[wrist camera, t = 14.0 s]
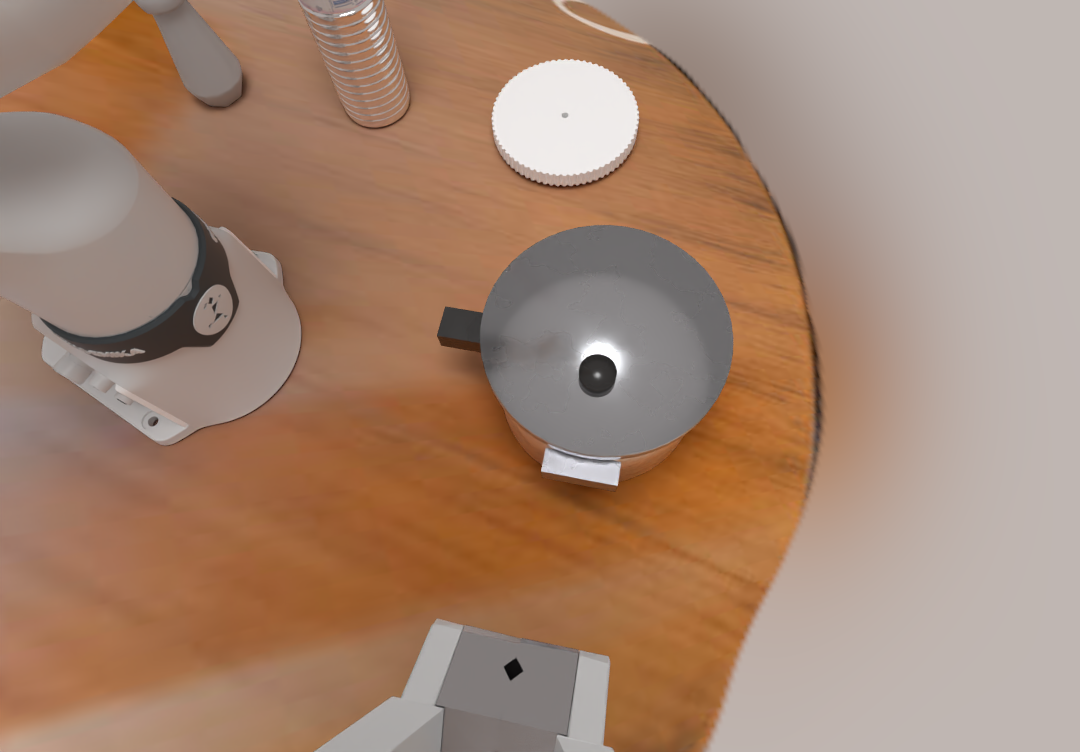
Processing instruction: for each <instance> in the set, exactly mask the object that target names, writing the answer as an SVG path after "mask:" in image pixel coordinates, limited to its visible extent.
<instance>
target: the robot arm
mask: <svg viewBox="0 0 1080 752" xmlns="http://www.w3.org/2000/svg"><path fill="white" fill-rule="evenodd" d="M132 1H133V0H0V98H1V97H3V96H5V95H7V94H9V93H11V92H12V91H14V90H16V89H18V88H20V87H22V86H24V85H25V84H27V83H29V82H31V81H33V80H35V79H36V78H38V77H40V76H42V75H44V74H46V73H47V72H49V71H51V70H53V69H55V68H57V67H58V66H60V65H62V64H64V63H66V62H67V61H68V60H69V59H71V58H72V57H73V56H74V55H75V54H76V53H77V52H79V51H80V50H81V49H82V48H83V47H84V46H85V45H87V44H88V43H89V42H90V41H91V40H92V39H93V38H94V37H96V36H97V35H98V34H99V33H100V32H101V31H102V30H103V29H104V28H105V27H106V26H108V25H109V24H110V23H111V22H112V21H113V20H114V19H115V18H116V17H117V16H118V15H119V14H120V13H121V12H122V11H123V10H124V9H125V8H126V7H127V6H128V5H129V4H130V3H131V2H132ZM0 296H1V297H3V298H5V299H7V300H9V301H11V302H13V303H15V304H17V305H18V306H20V307H22V308H24V309H26V310H28V311H30V312H32V315H31V318H32V324H33V327H34V328H35V329H36V330H38V331H39V332H40V333H42V334H43V335H45V336H44V339H43V345H42V359H43V360H44V361H45V362H46V363H47V364H48V365H49V366H51V367H52V368H53V370H55V371H56V372H58V373H59V374H61V375H62V376H64V377H66V378H67V379H69V380H70V381H72V382H73V383H74V384H76V385H77V386H79V387H80V388H81V389H83V390H84V391H85V392H87V393H88V394H90V395H91V396H92V397H94V398H95V399H97V400H98V401H99V402H101V403H102V404H103V405H105V406H106V407H108V408H109V409H110V410H112V411H113V412H115V413H116V414H117V415H119V416H120V417H121V418H123V419H124V420H126V421H127V422H128V423H130V424H131V425H133V426H134V427H135V428H137V429H138V430H139V431H141V432H142V433H144V434H145V435H146V436H148V437H149V438H151V439H152V440H153V441H155V442H156V443H158V444H160V445H171V444H174V443H176V442H178V441H180V440H182V439H183V438H185V437H187V436H188V435H190V434H191V433H193V432H194V431H196V430H198V429H200V428H203V427H206V426H210V425H215V424H220V423H224V422H228V421H231V420H234V419H237V418H239V417H242V416H244V415H246V414H248V413H250V412H251V411H253V410H255V409H256V408H258V407H259V406H261V405H262V404H263V403H265V402H266V401H267V400H268V399H269V398H271V397H272V396H273V395H274V394H275V393H276V392H277V390H278V389H279V388H280V387H281V386H282V385H283V383H284V382H285V380H286V379H287V378H288V376H289V374H290V373H291V371H292V369H293V367H294V364H295V362H296V359H297V357H298V353H299V349H300V343H301V325H300V319H299V316H298V313H297V310H296V308H295V306H294V304H293V302H292V301H291V299H290V297H289V296H288V294H287V293H286V291H285V289H284V286H283V274H282V267H281V264H280V262H279V261H278V259H276V258H275V257H274V256H273V255H272V254H270V253H267V252H260V251H253V250H250V249H249V248H247V247H246V246H245V245H244V244H243V243H242V242H241V241H240V240H239V239H238V238H237V237H236V236H235V235H234V234H233V233H232V232H231V231H230V230H228V229H227V228H224V227H220V228H216V227H211V226H208V225H207V224H206V223H205V222H204V221H203V220H202V219H201V218H200V217H199V216H198V215H196V214H195V213H194V212H192V210H190V209H189V208H188V207H187V206H186V205H184V204H183V203H181V202H180V201H178V200H176V199H174V198H172V197H170V196H169V195H168V194H167V193H166V191H165V190H164V189H163V188H162V187H161V186H160V185H159V184H158V183H157V182H156V180H155V179H154V178H153V177H152V176H151V175H150V174H149V173H148V172H147V171H146V170H145V168H144V167H143V166H142V165H141V164H140V163H139V162H138V161H137V160H136V159H135V158H134V157H133V155H132V154H131V153H130V152H129V151H128V150H127V149H126V148H125V147H124V146H123V145H122V144H121V143H120V142H119V141H117V140H116V139H114V138H113V137H111V136H110V135H108V134H106V133H104V132H103V131H101V130H99V129H97V128H94V127H92V126H90V125H88V124H85V123H82V122H79V121H77V120H74V119H71V118H68V117H64V116H60V115H57V114H51V113H44V112H1V113H0ZM157 419H158V423H157V425H155V426H153V423H154V421H155V420H157ZM609 670H610V660H609V656H604V655H600V654H595V653H590V652H585V651H581V650H580V651H579V650H577V649H572V648H567V647H562V646H558V645H553V644H548V643H543V642H538V641H533V640H529V639H524V638H522V639H520V638H516V637H512V636H508V635H504V634H500V633H496V632H492V631H488V630H484V629H480V628H476V627H472V626H468V625H462V624H458V623H454V622H449V621H445V620H441V619H436V620H435V622H434V623H433V624H432V626H431V628H430V630H429V633H428V635H427V637H426V640H425V642H424V644H423V647H422V649H421V651H420V654H419V656H418V658H417V661H416V663H415V666H414V668H413V670H412V673H411V675H410V677H409V680H408V682H407V684H406V687H405V689H404V691H403V694H402V696H401V698H398V697H393V696H392V697H390V698H389V699H387V700H386V701H385V702H383V703H382V704H380V705H379V706H378V707H376V708H375V709H373V710H372V711H370V712H369V713H368V714H366V715H365V716H363V717H362V718H361V719H359V720H358V721H356V722H355V723H354V724H352V725H351V726H349V727H348V728H346V729H345V730H344V731H342V732H341V733H339V734H338V735H337V736H335V737H334V738H332V739H331V740H329V741H328V742H327V743H325V744H324V745H322V746H321V747H320V748H318V749H317V750H315V751H314V752H614V750H613V748H611V747H608V746H604V745H603V742H604V730H605V718H606V706H607V694H608V682H609Z"/></svg>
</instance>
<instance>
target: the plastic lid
mask: <svg viewBox="0 0 1080 752" xmlns="http://www.w3.org/2000/svg"><path fill="white" fill-rule="evenodd" d="M629 90H630V88H629V87H627V86H626V83H625V82H624V83H623V82H622V79H621V78H620V79H619V78H618V76H617V75H614V74H613V72H609V71H608V69H604V68H603V67H602V66H600V67H599V66H598V65H597V64H592V63H591V62H589V63H586V61H582V62H581V61H580V60H576V61H574V60H573V59H570V60H567V59H564V60H561V59H559V60H558V61H555V60H552V61H551V62H548V61H546V62H545V63H539V65H534V67H529V68H528V69H527V70H523V72H522V73H518V75H517V76H514V77H513V79H512V80H509V83H508V84H505V88H502V89H501V91H502V92H499V94H498V95H499V97H497V98H496V102H495V103H494V107H493V112H492V128H493V135H494V140H495V144H496V146H497V149H498V151H500V155H501V156H502V155H503V159H504V160H506V163H507V164H510V167H511V168H515V171H516V172H520V174H521V175H525V177H526V178H531V180H533V181H534V180H537V182H538V183H540V182H543V184H547V183H548V184H550V185H553V184H555V185H556V186H559V185H563V186H566V185H569V186H573V184H576V185H579V184H580V183H582V184H586V182H589V183H590V182H592V180H598V178H599V177H601V178H603V177H604V175H605V174H606V175H608V174H609V172H610V171H612V172H613V171H614V169H615V168H618V167H619V164H622V163H623V160H624V159H626V158H627V155H629V154H630V150H632V149H633V145H634V144H635V140H636V136H637V130H638V123H639V116H638V115H639V111H638V106H636V105H637V101H635V96H632V94H633V93H632V91H629Z"/></svg>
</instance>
